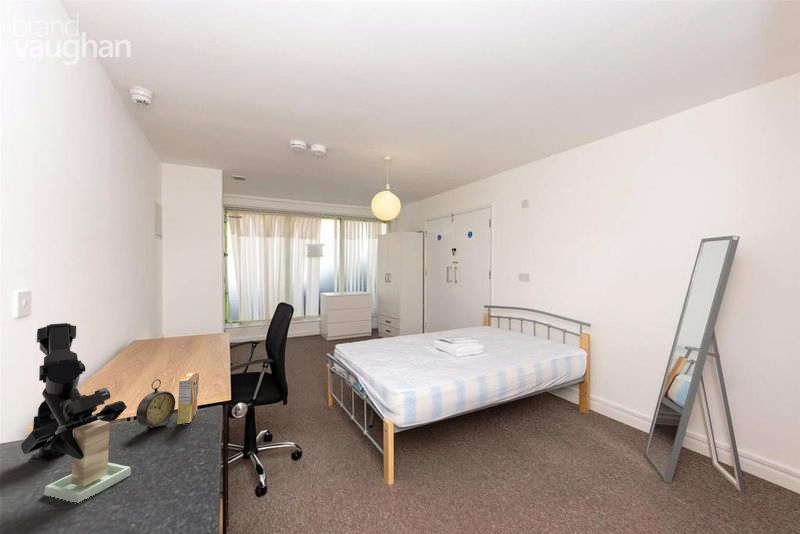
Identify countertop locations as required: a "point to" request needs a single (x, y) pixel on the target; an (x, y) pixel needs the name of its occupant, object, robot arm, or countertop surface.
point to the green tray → (79, 493)
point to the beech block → (91, 452)
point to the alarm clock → (155, 408)
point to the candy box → (187, 398)
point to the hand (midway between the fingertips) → (95, 452)
